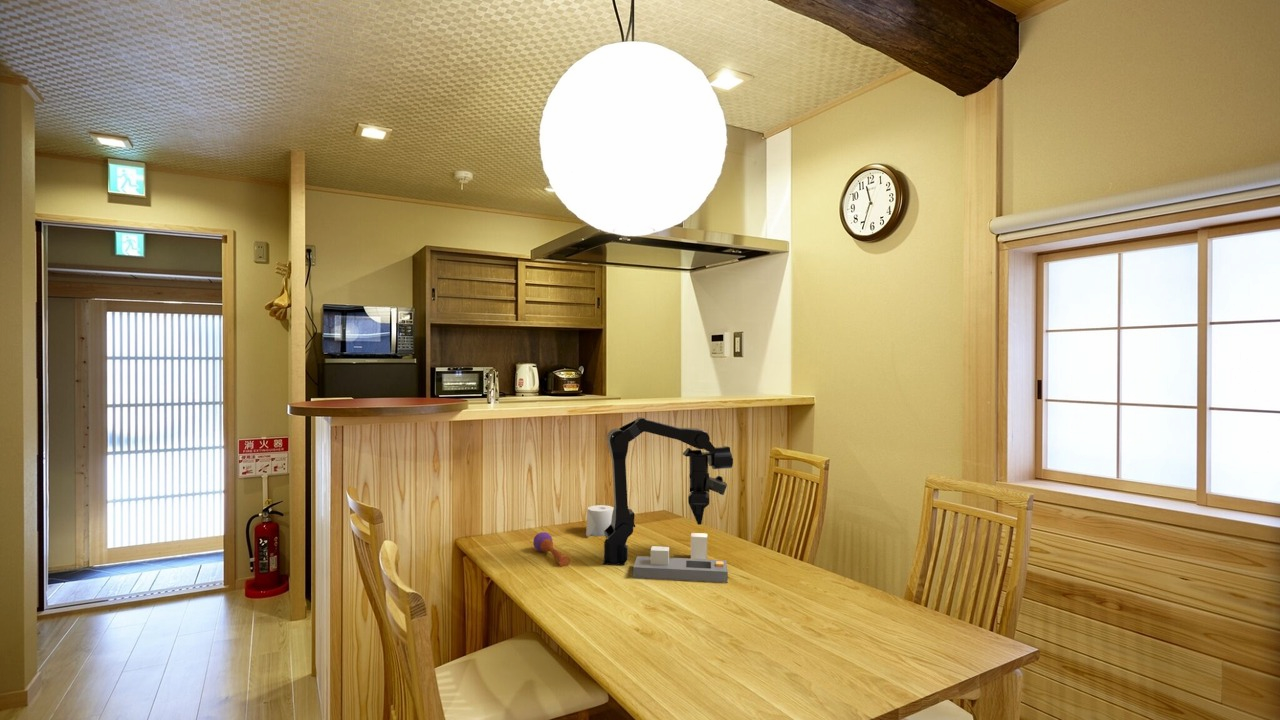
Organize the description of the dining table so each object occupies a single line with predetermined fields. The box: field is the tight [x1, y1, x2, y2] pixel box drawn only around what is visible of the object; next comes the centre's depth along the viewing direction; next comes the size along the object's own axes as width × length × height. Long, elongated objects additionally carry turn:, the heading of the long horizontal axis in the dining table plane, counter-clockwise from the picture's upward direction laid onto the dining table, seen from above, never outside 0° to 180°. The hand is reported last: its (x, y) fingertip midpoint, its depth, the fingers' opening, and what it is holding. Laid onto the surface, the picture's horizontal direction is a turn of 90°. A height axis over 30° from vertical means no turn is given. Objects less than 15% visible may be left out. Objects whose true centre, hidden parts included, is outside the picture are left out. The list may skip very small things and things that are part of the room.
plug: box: [690, 532, 708, 559], centre depth 192 cm, size 5×4×7 cm
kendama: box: [533, 531, 571, 567], centre depth 190 cm, size 6×6×20 cm
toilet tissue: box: [585, 504, 614, 538], centre depth 216 cm, size 9×13×9 cm
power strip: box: [632, 545, 729, 584], centre depth 177 cm, size 26×10×7 cm, turn 84°
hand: (699, 520), depth 192 cm, fingers open, 9 cm apart
